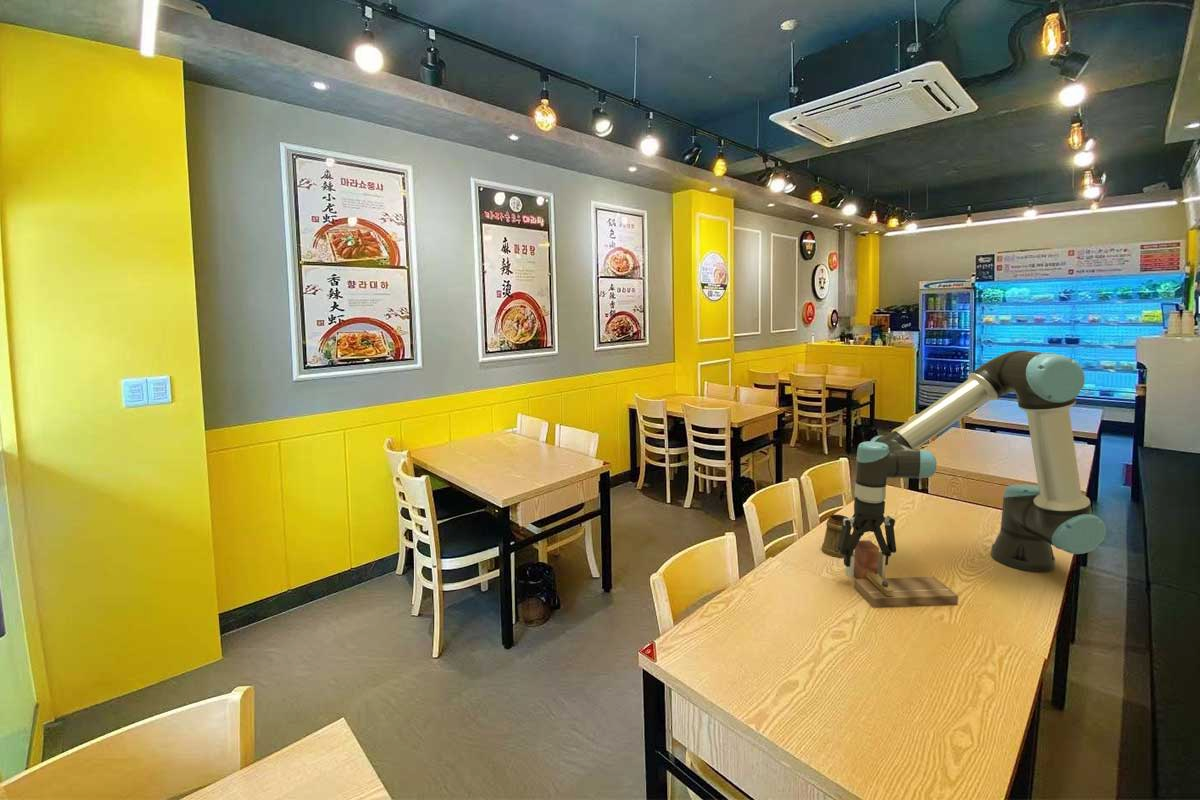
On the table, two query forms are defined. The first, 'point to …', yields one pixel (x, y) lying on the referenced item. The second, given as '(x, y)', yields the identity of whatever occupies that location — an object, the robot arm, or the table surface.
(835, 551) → the wooden mug
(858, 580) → the board
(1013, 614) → the table surface
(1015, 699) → the table surface
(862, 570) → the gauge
